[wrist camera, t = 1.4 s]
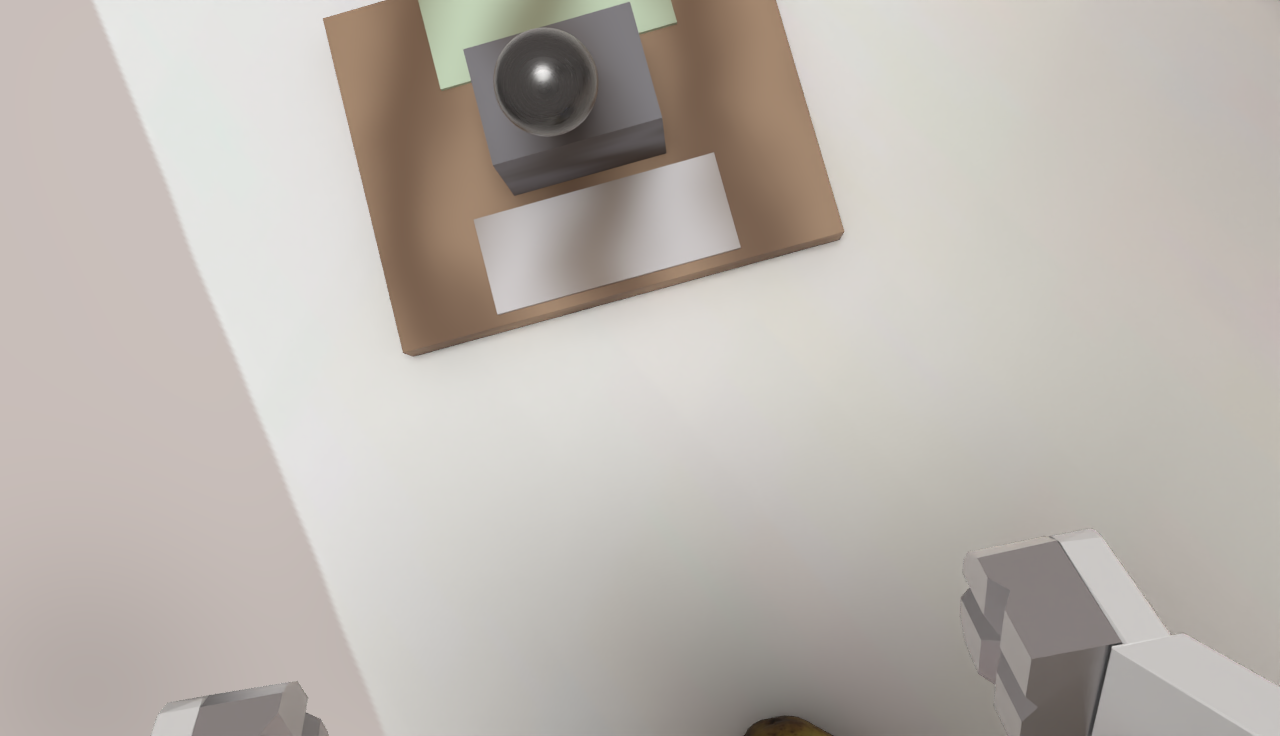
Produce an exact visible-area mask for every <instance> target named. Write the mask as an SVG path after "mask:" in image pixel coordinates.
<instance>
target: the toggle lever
mask: <svg viewBox="0 0 1280 736" xmlns="http://www.w3.org/2000/svg"><path fill="white" fill-rule="evenodd" d="M598 84H599V82H598V73H597V68H596V65H595V62H594V60H593V58H592V56H591V54H590V53H589V51H588V50H587V49H586V47H585V46H584V45H583V44H582V43H581V42H580V41H579V40H578V39H576V38H575V37H574V36H572V35H570V34H568V33H567V32H564V31H562V30H559V29H554V28H545V27H544V28H535V29H530V30H528V31H525V32H523V33H521V34H519V35H517V36H516V37H515V38H513V39H512V40H511V41H510V42H509V43H508V44H507V45H506V46H505V47H504V49H503V50H502V52H501V54H500V55H499V57H498V60H497V62H496V66H495V69H494V76H493V85H494V92H495V96H496V99H497V102H498V104H499V106H500V108H501V110H502V112H503V113H504V115H505V116H506V117H507V118H508V119H509V120H510V121H511V122H512V123H513V124H514V125H515V126H517V127H518V128H520V129H521V130H523V131H525V132H527V133H530V134H533V135H537V136H545V137H550V136H557V135H562V134H564V133H567V132H569V131H571V130H573V129H575V128H576V127H577V126H579V125H580V124H581V123H582V122H583V121H584V120H585V119H586V118H587V117H588V115H589V114H590V112H591V111H592V109H593V106H594V104H595V102H596V98H597V94H598Z"/></svg>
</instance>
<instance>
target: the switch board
mask: <svg viewBox="0 0 1280 736" xmlns="http://www.w3.org/2000/svg"><path fill="white" fill-rule="evenodd" d="M323 21H324V25H325V29H326V34H327V38H328V42H329V46H330V50H331V54H332V58H333V63H334V67H335V71H336V75H337V79H338V83H339V88H340V92H341V96H342V100H343V104H344V108H345V113H346V117H347V121H348V125H349V129H350V133H351V138H352V142H353V146H354V150H355V154H356V158H357V163H358V167H359V171H360V175H361V179H362V183H363V188H364V192H365V196H366V200H367V204H368V208H369V213H370V217H371V221H372V225H373V229H374V233H375V238H376V242H377V246H378V250H379V254H380V258H381V262H382V267H383V271H384V275H385V279H386V283H387V287H388V292H389V296H390V300H391V304H392V308H393V312H394V317H395V321H396V325H397V329H398V333H399V337H400V342H401V346H402V350H403V353H405V354H408V355H410V356H413V357H414V356H417V355H421V354H424V353H428V352H432V351H435V350H439V349H443V348H446V347H450V346H454V345H457V344H461V343H464V342H468V341H472V340H475V339H479V338H483V337H486V336H490V335H494V334H497V333H501V332H505V331H508V330H512V329H515V328H519V327H523V326H526V325H530V324H534V323H537V322H541V321H545V320H548V319H552V318H556V317H559V316H563V315H566V314H570V313H574V312H577V311H581V310H585V309H588V308H592V307H596V306H599V305H603V304H606V303H610V302H614V301H617V300H621V299H625V298H628V297H632V296H636V295H639V294H643V293H647V292H650V291H654V290H657V289H661V288H665V287H668V286H672V285H676V284H679V283H683V282H687V281H690V280H694V279H698V278H701V277H705V276H708V275H712V274H716V273H719V272H723V271H727V270H730V269H734V268H738V267H741V266H745V265H748V264H752V263H756V262H759V261H763V260H767V259H770V258H774V257H778V256H781V255H785V254H789V253H792V252H796V251H799V250H803V249H807V248H810V247H814V246H818V245H821V244H825V243H829V242H832V241H836V240H840V238H841V236H842V235H843V233H844V229H843V226H842V222H841V219H840V215H839V212H838V209H837V205H836V202H835V199H834V195H833V192H832V188H831V185H830V182H829V178H828V175H827V172H826V168H825V165H824V161H823V158H822V155H821V151H820V148H819V144H818V141H817V138H816V134H815V131H814V128H813V124H812V121H811V117H810V114H809V111H808V107H807V104H806V101H805V97H804V94H803V90H802V87H801V84H800V80H799V77H798V74H797V70H796V67H795V63H794V60H793V57H792V53H791V50H790V46H789V43H788V40H787V36H786V33H785V30H784V26H783V23H782V19H781V16H780V13H779V9H778V6H777V3H776V0H385V1H382V2H378V3H375V4H371V5H368V6H365V7H361V8H358V9H354V10H351V11H347V12H344V13H340V14H337V15H333V16H330V17H326V18H323ZM544 27H545V28H554V29H559V30H562V31H564V32H567V33H568V34H570V35H572V36H574V37H575V38H576V39H578V40H579V41H580V42H581V43H582V44H583V45H584V46H585V47H586V49H587V50H588V51H589V53H590V54H591V56H592V58H593V60H594V62H595V65H596V68H597V73H598V82H599V84H598V94H597V98H596V102H595V104H594V106H593V109H592V111H591V112H590V114H589V115H588V117H587V118H586V119H585V120H584V121H583V122H582V123H581V124H580V125H579V126H577V127H576V128H575V129H573V130H571V131H569V132H567V133H564V134H562V135H557V136H550V137H545V136H537V135H533V134H530V133H527V132H525V131H523V130H521V129H520V128H518V127H517V126H515V125H514V124H513V123H512V122H511V121H510V120H509V119H508V118H507V117H506V116H505V115H504V113H503V112H502V110H501V108H500V106H499V104H498V102H497V99H496V96H495V92H494V85H493V76H494V69H495V66H496V62H497V60H498V57H499V55H500V54H501V52H502V50H503V49H504V47H505V46H506V45H507V44H508V43H509V42H510V41H511V40H512V39H513V38H515V37H516V36H517V35H519V34H521V33H523V32H525V31H528V30H530V29H535V28H544Z"/></svg>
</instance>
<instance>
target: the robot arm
mask: <svg viewBox="0 0 1280 736" xmlns="http://www.w3.org/2000/svg"><path fill="white" fill-rule="evenodd" d="M963 575H964V577H965V579H966V581H967V583H968V585H969V587H970V588H969V589H968V590H967V591H966V592H965V593H964V595H963V596H962V597H961V604H960V618H961V624H962V629H963V635H964V639H965V642H966V645H967V648H968V651H969V654H970V656H971V659H972V661H973V663H974V665H975V667H976V670H977V672H978V674H980V675H981V676H983V677H984V678H986V679H987V680H989V681H990V682H992V683H993V684H995V685H996V686H995V695H994V705H993V706H994V708H995V710H996V712H997V714H998V716H999V718H1000V720H1001V722H1002V724H1003V726H1004V729H1005V731H1006V733H1007V735H1008V736H1280V686H1278V685H1276V684H1274V683H1273V682H1271V681H1269V680H1267V679H1265V678H1264V677H1262V676H1260V675H1258V674H1257V673H1255V672H1253V671H1251V670H1249V669H1248V668H1246V667H1244V666H1242V665H1240V664H1239V663H1237V662H1235V661H1233V660H1231V659H1230V658H1228V657H1226V656H1224V655H1222V654H1221V653H1219V652H1217V651H1215V650H1214V649H1212V648H1210V647H1208V646H1206V645H1205V644H1203V643H1201V642H1199V641H1197V640H1196V639H1194V638H1192V637H1190V636H1188V635H1187V634H1185V633H1180V634H1173V635H1171V634H1170V633H1169V631H1168V630H1167V628H1166V627H1165V625H1164V624H1163V623H1162V621H1161V620H1160V618H1159V617H1158V615H1157V614H1156V613H1155V611H1154V610H1153V608H1152V607H1151V605H1150V604H1149V603H1148V601H1147V600H1146V598H1145V597H1144V595H1143V594H1142V593H1141V591H1140V590H1139V588H1138V587H1137V585H1136V584H1135V583H1134V581H1133V580H1132V578H1131V577H1130V575H1129V574H1128V573H1127V571H1126V570H1125V568H1124V567H1123V565H1122V564H1121V563H1120V561H1119V560H1118V558H1117V557H1116V555H1115V554H1114V553H1113V551H1112V550H1111V548H1110V547H1109V545H1108V544H1107V543H1106V541H1105V540H1104V538H1103V537H1102V535H1101V534H1100V533H1098V532H1097V531H1095V530H1094V529H1092V528H1090V529H1084V530H1079V531H1073V532H1068V533H1063V534H1058V535H1053V536H1049V537H1047V536H1043V537H1038V538H1033V539H1028V540H1023V541H1018V542H1013V543H1008V544H1003V545H999V546H994V547H989V548H984V549H979V550H974V551H969V552H968V553H967V554H966V556H965V558H964V563H963ZM307 701H308V697H307V695H306V693H305V692H304V690H303V689H302V688H301V686H300V684H299V683H298V681H296V682H288V683H281V684H276V685H269V686H263V687H257V688H251V689H245V690H239V691H232V692H226V693H220V694H215V695H209V696H203V697H197V698H192V699H186V700H180V701H175V702H170V703H167V704H166V705H165V706H164V708H163V709H162V710H161V712H160V713H159V714H158V716H157V717H156V721H155V723H154V726H153V729H152V733H151V735H150V736H329V734H328V731H327V729H326V728H325V726H324V724H323V722H322V720H321V719H319V718H317V717H315V716H313V715H310V714H308V713H306V706H307Z"/></svg>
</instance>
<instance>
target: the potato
mask: <svg viewBox="0 0 1280 736" xmlns="http://www.w3.org/2000/svg"><path fill="white" fill-rule="evenodd" d="M744 736H833V735H831V734H829V733H827V732H825V731H823V730H822V729H820V728H818V727H817V726H815V725H813V724H811V723H810V722H808V721H806V720H803V719H801V718H799V717H794V716H780V717H775V718H770V719H765V720H761V721H759V722H757V723H755V724H753V725H752V726H751V727H750V728H749V729H748V730H747V732H746V734H745V735H744Z"/></svg>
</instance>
